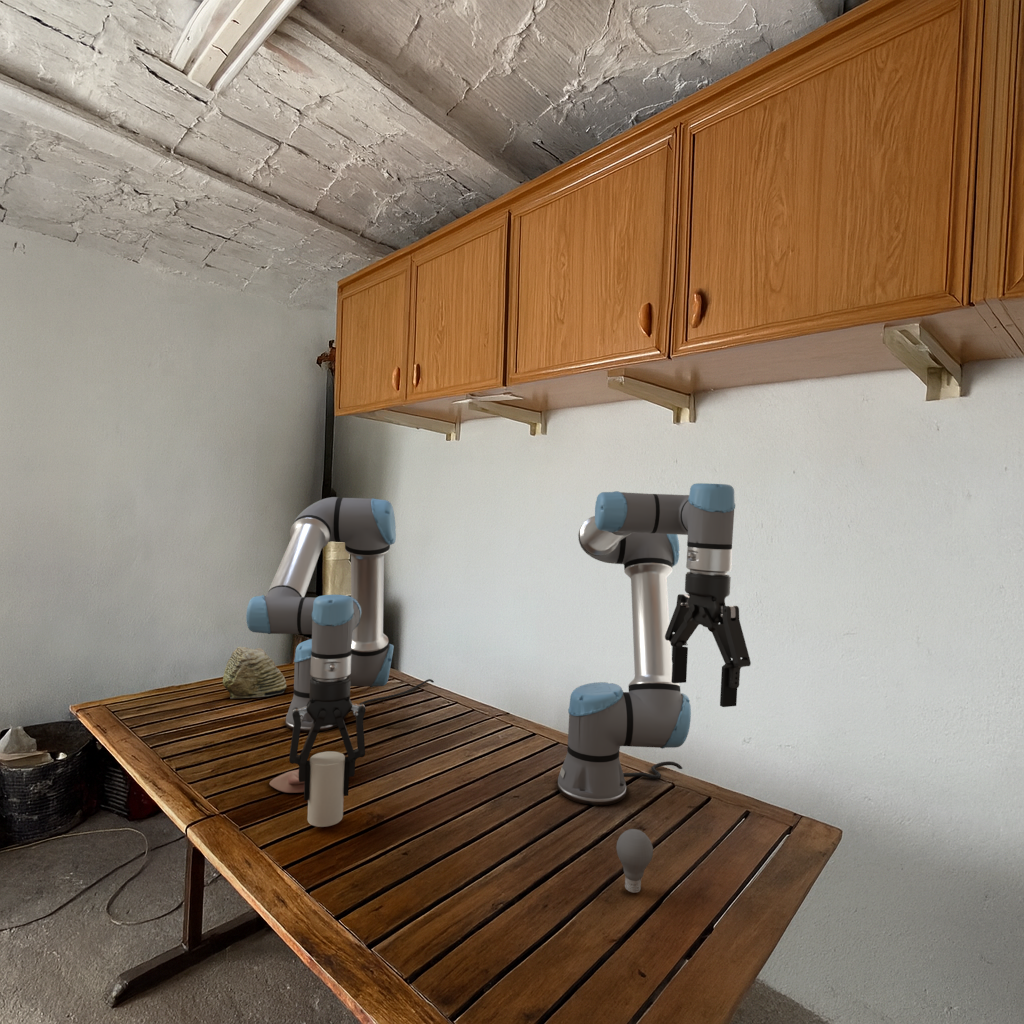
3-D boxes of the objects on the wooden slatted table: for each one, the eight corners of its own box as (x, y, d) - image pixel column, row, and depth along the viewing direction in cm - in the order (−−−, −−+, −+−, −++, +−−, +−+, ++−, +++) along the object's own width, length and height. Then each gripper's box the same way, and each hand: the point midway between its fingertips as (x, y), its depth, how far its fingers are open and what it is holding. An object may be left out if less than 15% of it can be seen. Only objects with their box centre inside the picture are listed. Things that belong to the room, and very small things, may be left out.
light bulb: (610, 879, 108) (613, 822, 108) (644, 879, 109) (647, 822, 109) (619, 902, 102) (622, 840, 102) (655, 901, 103) (658, 840, 103)
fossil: (218, 695, 195) (220, 647, 195) (278, 685, 208) (279, 640, 207) (228, 703, 189) (230, 653, 188) (289, 692, 201) (290, 645, 201)
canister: (307, 829, 118) (310, 766, 118) (307, 812, 124) (309, 752, 124) (344, 824, 120) (346, 763, 120) (341, 808, 126) (343, 749, 126)
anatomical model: (261, 770, 135) (291, 750, 147) (261, 789, 136) (290, 767, 147) (318, 779, 133) (344, 757, 144) (318, 797, 133) (343, 775, 144)
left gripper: (276, 685, 115) (271, 810, 116) (384, 679, 121) (379, 798, 122) (276, 673, 122) (272, 791, 123) (379, 668, 129) (375, 781, 129)
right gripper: (649, 564, 121) (644, 675, 121) (739, 582, 97) (732, 719, 98) (683, 564, 123) (677, 672, 124) (778, 581, 100) (771, 715, 100)
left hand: (326, 794), depth 122 cm, fingers closed on canister, 7 cm apart
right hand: (702, 693), depth 111 cm, fingers open, 13 cm apart
